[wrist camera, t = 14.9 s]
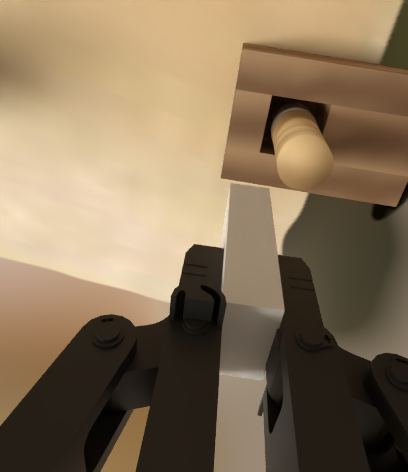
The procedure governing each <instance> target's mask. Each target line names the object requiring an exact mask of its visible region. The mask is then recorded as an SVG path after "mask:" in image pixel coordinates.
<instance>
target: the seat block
mask: <svg viewBox="0 0 408 472" xmlns="http://www.w3.org/2000/svg"><path fill="white" fill-rule="evenodd" d="M272 95H274V96H280V97H287V98H293V99H299V100H305V101H312V102H318V103H320V104H319V108H318V111H317V115H316V118H315V120H316V123H317V126H318V128H319V130H320V132H321V134H322V135H323V137H324V139H325V141H326V143H327V145H328V147H329V149H330V151H331V153H332V155H333V169H332V172H331V174H330V176H329V177H328V178H327V180H326V181H325V182H324V183H322V184H321V185H319V186H318V187H316V188H313V189H310V190H296V189H293V188H290V187H288V186H287V185H286V184H285V183H283V181H282V180H281V179H280V177H279V174H278V170H277V163H276V157H275V150H274V144H273V140H272V139H268V138H263V134H264V130H265V125H266V121H267V116H268V112H269V107H270V102H271V98H272ZM221 178H223V179H229V180H235V181H241V182H247V183H253V184H259V185H266V186H272V187H278V188H284V189H290V190H296V191H302V192H308V193H314V194H321V195H327V196H333V197H339V198H345V199H351V200H357V201H364V202H369V203H375V204H382V205H388V206H394V207H396V206H397V204H398V202H399V199H400V197H401V195H402V193H403V191H404V189H405V186H406V184H407V182H408V69H402V68H396V67H390V66H384V65H378V64H371V63H365V62H359V61H352V60H346V59H340V58H333V57H327V56H321V55H314V54H308V53H302V52H295V51H289V50H283V49H276V48H270V47H264V46H257V45H251V44H245V43H243V48H242V54H241V60H240V66H239V72H238V78H237V84H236V90H235V96H234V102H233V108H232V114H231V120H230V126H229V132H228V138H227V143H226V149H225V155H224V161H223V168H222V174H221Z"/></svg>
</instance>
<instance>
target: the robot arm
mask: <svg viewBox="0 0 408 472" xmlns="http://www.w3.org/2000/svg"><path fill="white" fill-rule="evenodd" d="M312 281H313V280H312V275H311V271H310V269H309V267H308V266H307V265H306V263H305V262H304V261H303V260H302V259H301V258H296V257H289V256H282V255H278V254H277V246H276V238H275V230H274V222H273V215H272V207H271V199H270V191H269V188H262V187H255V186H247V185H240V184H233V183H230V189H229V195H228V202H227V208H226V214H225V220H224V226H223V232H222V238H221V247H220V248H218V247H211V246H203V245H196V244H194V245H193V246H192V247H191V248H190V249H189V250H188V251H187V252H186V255H185V259H184V264H183V268H182V274H181V278H180V282H179V286H178V287H177V288H175V289H174V291H173V293H172V295H171V303H170V315H169V316H168V317H167V318H165V319H164V320H162V321H160V322H158V323H155V324H151V325H145V326H137V327H135V326H134V325H133V324H132V322H131V321H130V320H128V319H126V318H124V317H123V316H118V315H112V314H111V315H103V316H99V317H97V318H94V319H92V320H90V321H89V322H88V323H87V324H86V325H84V326H83V327H82V328H81V330H80V331H79V332H78V333H77V334H76V336H75V337H74V338H73V339H72V340H71V342H70V343H69V344H68V345H67V347H66V348H65V349H64V350H63V351H62V352H61V354H60V355H59V356H58V357H57V359H56V360H55V361H54V362H53V363H52V365H51V366H50V367H49V368H48V369H47V371H46V372H45V373H44V374H43V375H42V377H41V378H40V379H39V380H38V382H37V383H36V384H35V385H34V386H33V387H32V389H31V390H30V391H29V392H28V394H27V395H26V396H25V397H24V398H23V399H22V401H21V402H20V403H19V404H18V406H17V407H16V408H15V409H14V410H13V411H12V413H11V414H10V415H9V416H8V417H7V419H6V420H5V421H4V422H3V424H2V425H1V426H0V472H100V471H101V469H102V467H103V466H104V464H105V462H106V460H107V458H108V456H109V454H110V452H111V451H112V449H113V447H114V445H115V443H116V441H117V440H118V438H119V436H120V434H121V432H122V430H123V428H124V426H125V425H126V423H127V421H128V419H129V417H130V415H131V413H132V412H133V409H136V408H142V407H147V406H150V410H149V414H148V418H147V423H146V427H145V432H144V436H143V441H142V445H141V450H140V455H139V459H138V463H137V468H136V472H213V470H214V453H215V437H216V420H217V404H218V387H219V374H222V375H228V376H235V377H242V378H249V379H256V380H263V376H264V374H265V371H266V379H267V385H266V388H265V391H264V394H263V397H262V400H261V403H260V406H259V410H258V415H259V416H262V413H263V412H264V433H265V455H266V456H265V457H266V472H408V359H407V358H405V357H402V356H399V355H397V354H391V353H383V354H380V355H377V356H376V357H375V358H374V359H373V360H372V362H371V361H369V360H367V359H364V358H361V357H359V356H356V355H354V354H352V353H350V352H348V351H346V350H344V349H342V348H340V347H339V346H338V345H337V342H336V340H335V338H334V336H333V335H332V334H331V333H330V332H329V331H328V330H327V329H326V328H324V326H323V322H322V318H321V314H320V310H319V305H318V301H317V297H316V292H315V288H314V284H313V283H312Z"/></svg>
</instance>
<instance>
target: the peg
mask: <svg viewBox="0 0 408 472" xmlns="http://www.w3.org/2000/svg"><path fill="white" fill-rule="evenodd" d="M271 137H272V140H273V144H274V150H275V157H276V163H277V170H278V174H279V177H280V179H281V180H282V181H283V183H285V184H286V185H287V186H288V187H290V188H293V189H296V190H310V189H313V188H316V187H318V186H319V185H321V184H322V183H324V182H325V181H326V180H327V178H328V177H329V176H330V174H331V172H332V169H333V155H332V153H331V151H330V149H329V147H328V145H327V143H326V141H325V139H324V137H323V135H322V134H321V132H320V130H319V128H318V126H317V123H316V120H315V118H314V116H313V115H312V114H311V113H310V111H309V110H308V108H307V107H305V106H304V105H302V104H300V103H299V102H297V101H294V100H286V101H284V102H282V103H280V104H279V105H278V106H277V107H276V109H275V111H274V115H273V117H272V120H271Z"/></svg>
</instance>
